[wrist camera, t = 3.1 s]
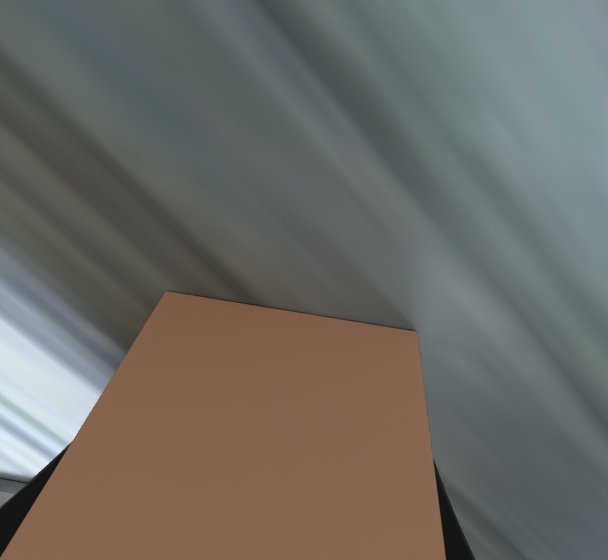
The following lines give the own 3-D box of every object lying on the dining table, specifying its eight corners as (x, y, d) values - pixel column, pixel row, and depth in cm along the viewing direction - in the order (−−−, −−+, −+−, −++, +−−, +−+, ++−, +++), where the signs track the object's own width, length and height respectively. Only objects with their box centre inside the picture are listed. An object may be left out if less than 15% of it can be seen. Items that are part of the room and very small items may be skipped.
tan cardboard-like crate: (416, 331, 10) (468, 737, 5) (368, 482, 14) (367, 831, 8) (165, 291, 11) (-51, 639, 5) (175, 448, 14) (47, 769, 8)
